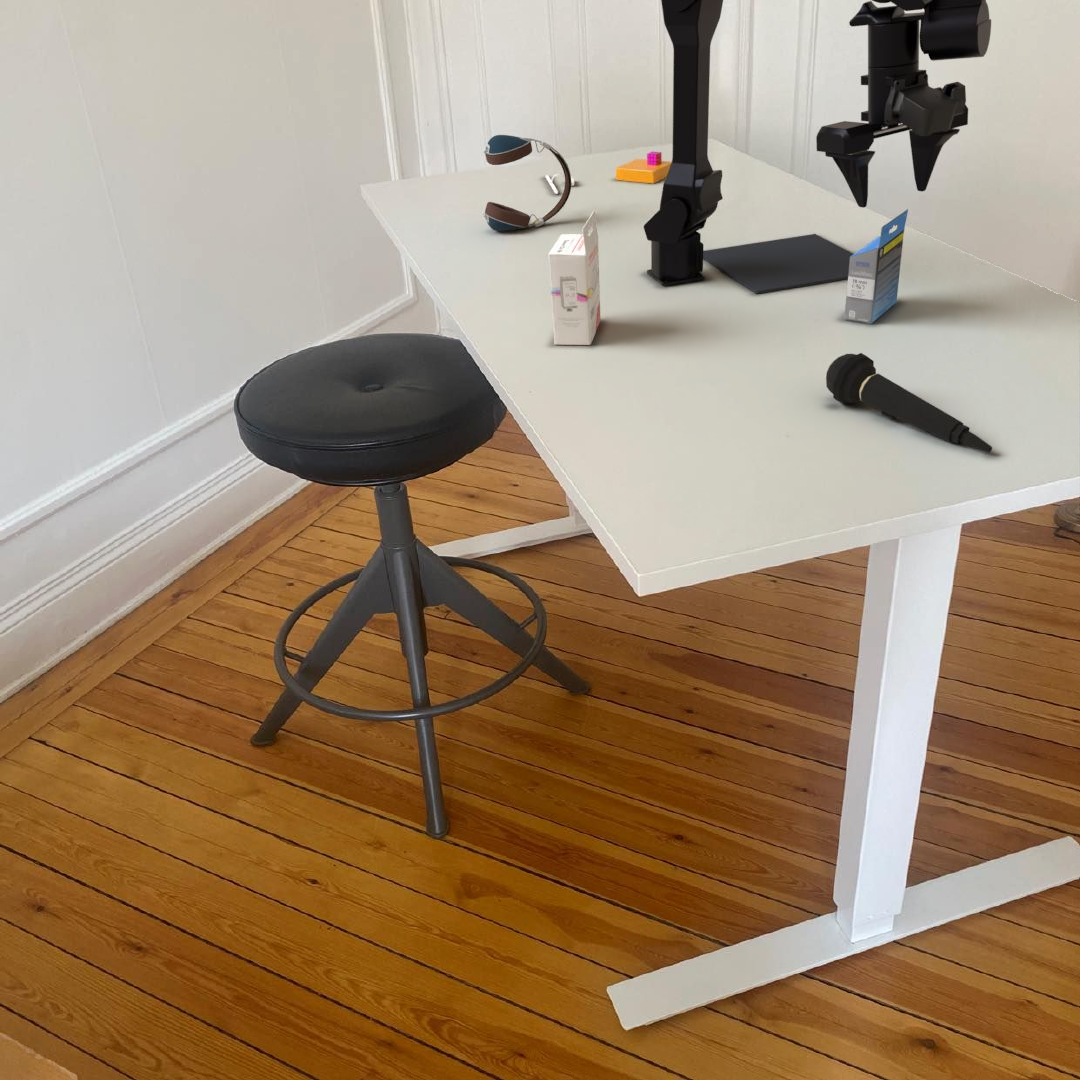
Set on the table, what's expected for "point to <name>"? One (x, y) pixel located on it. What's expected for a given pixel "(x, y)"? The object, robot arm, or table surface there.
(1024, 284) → the table surface
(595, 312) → the ink cartridge box
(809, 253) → the desk mat
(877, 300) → the blue epson carton
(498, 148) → the headphones
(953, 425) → the microphone
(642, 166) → the orange and magenta block
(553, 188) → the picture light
